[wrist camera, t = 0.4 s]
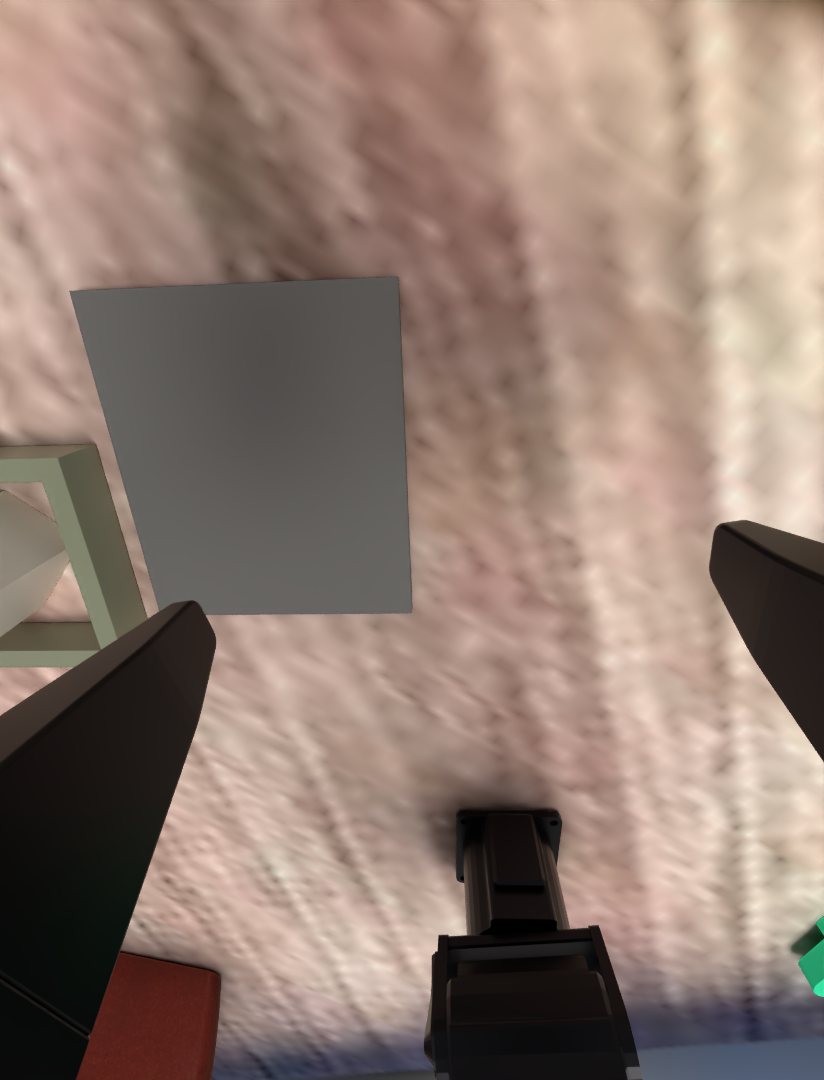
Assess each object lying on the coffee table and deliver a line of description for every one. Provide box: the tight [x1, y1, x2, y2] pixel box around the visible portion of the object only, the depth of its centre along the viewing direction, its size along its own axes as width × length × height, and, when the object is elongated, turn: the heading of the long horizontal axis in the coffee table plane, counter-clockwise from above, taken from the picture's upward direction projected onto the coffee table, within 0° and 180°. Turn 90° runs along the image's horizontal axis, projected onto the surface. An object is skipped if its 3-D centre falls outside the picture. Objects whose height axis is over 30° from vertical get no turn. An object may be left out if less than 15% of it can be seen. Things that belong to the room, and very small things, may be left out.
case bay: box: [0, 444, 147, 667], centre depth 24 cm, size 11×11×2 cm
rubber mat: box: [69, 277, 412, 615], centre depth 22 cm, size 15×13×1 cm
